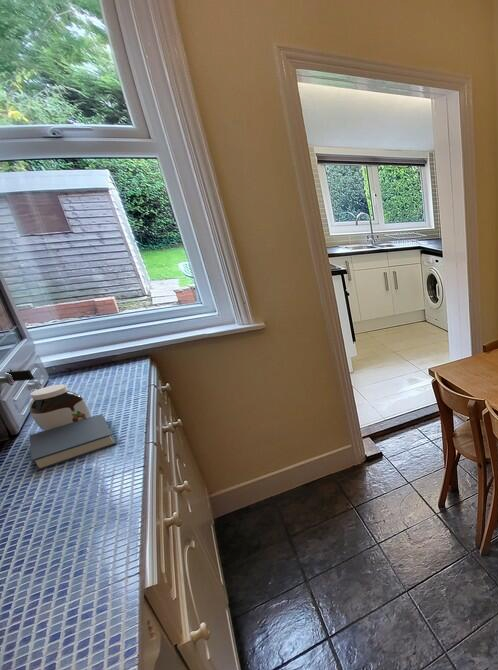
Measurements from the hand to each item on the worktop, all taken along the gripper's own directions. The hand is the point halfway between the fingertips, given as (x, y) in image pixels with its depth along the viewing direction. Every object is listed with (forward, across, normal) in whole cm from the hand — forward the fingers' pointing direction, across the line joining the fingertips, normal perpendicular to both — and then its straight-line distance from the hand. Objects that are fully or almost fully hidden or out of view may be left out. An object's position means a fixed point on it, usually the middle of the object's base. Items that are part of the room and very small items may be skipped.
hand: (6, 384), depth 110 cm
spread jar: (+10, 0, -14) cm, 17 cm away
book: (+21, +13, -13) cm, 28 cm away
